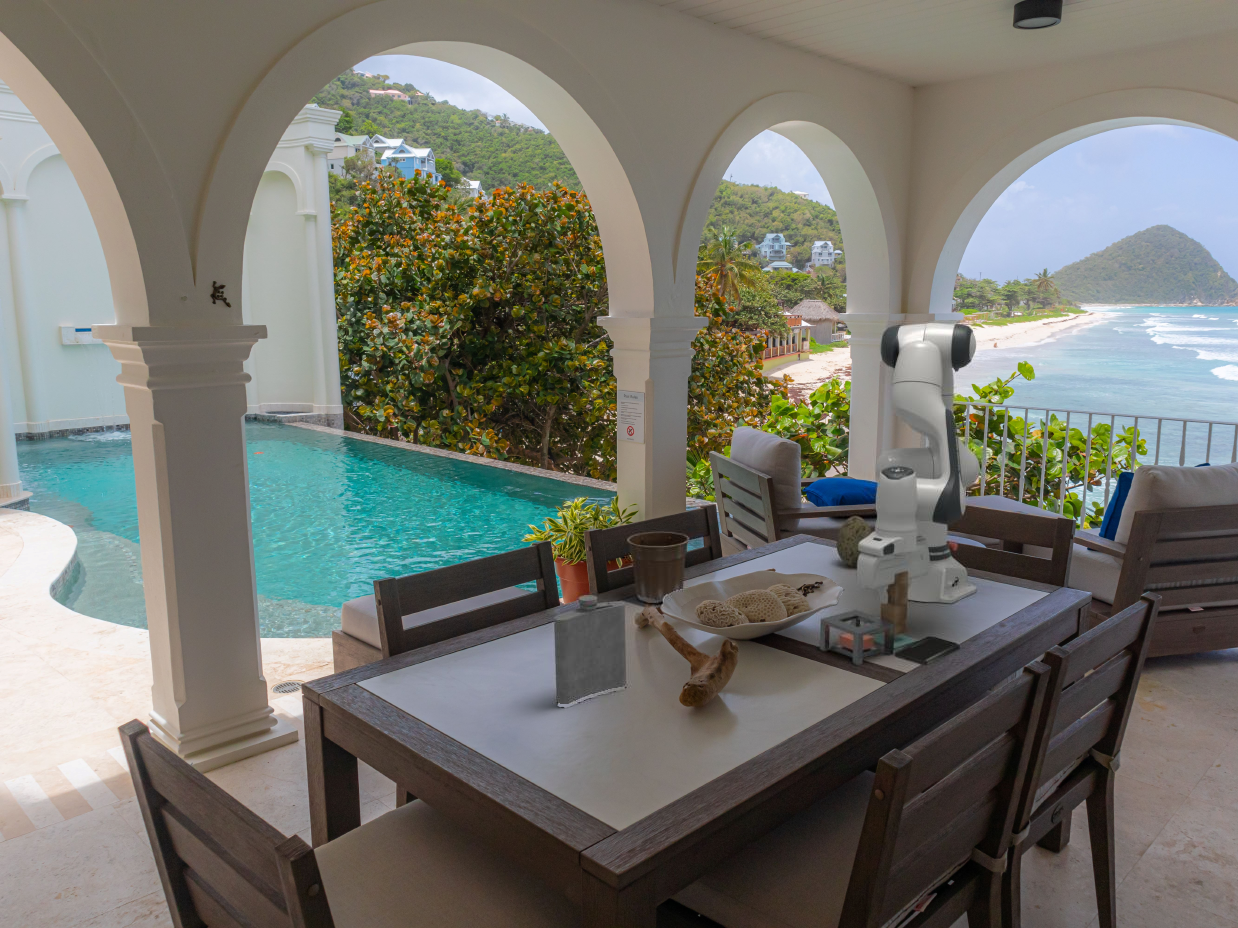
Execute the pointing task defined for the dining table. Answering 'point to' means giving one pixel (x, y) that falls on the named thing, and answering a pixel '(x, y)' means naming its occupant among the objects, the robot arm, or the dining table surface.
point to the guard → (857, 633)
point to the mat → (895, 640)
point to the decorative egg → (852, 539)
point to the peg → (897, 604)
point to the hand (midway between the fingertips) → (893, 600)
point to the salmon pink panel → (847, 641)
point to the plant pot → (658, 562)
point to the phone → (927, 650)
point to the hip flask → (589, 649)
